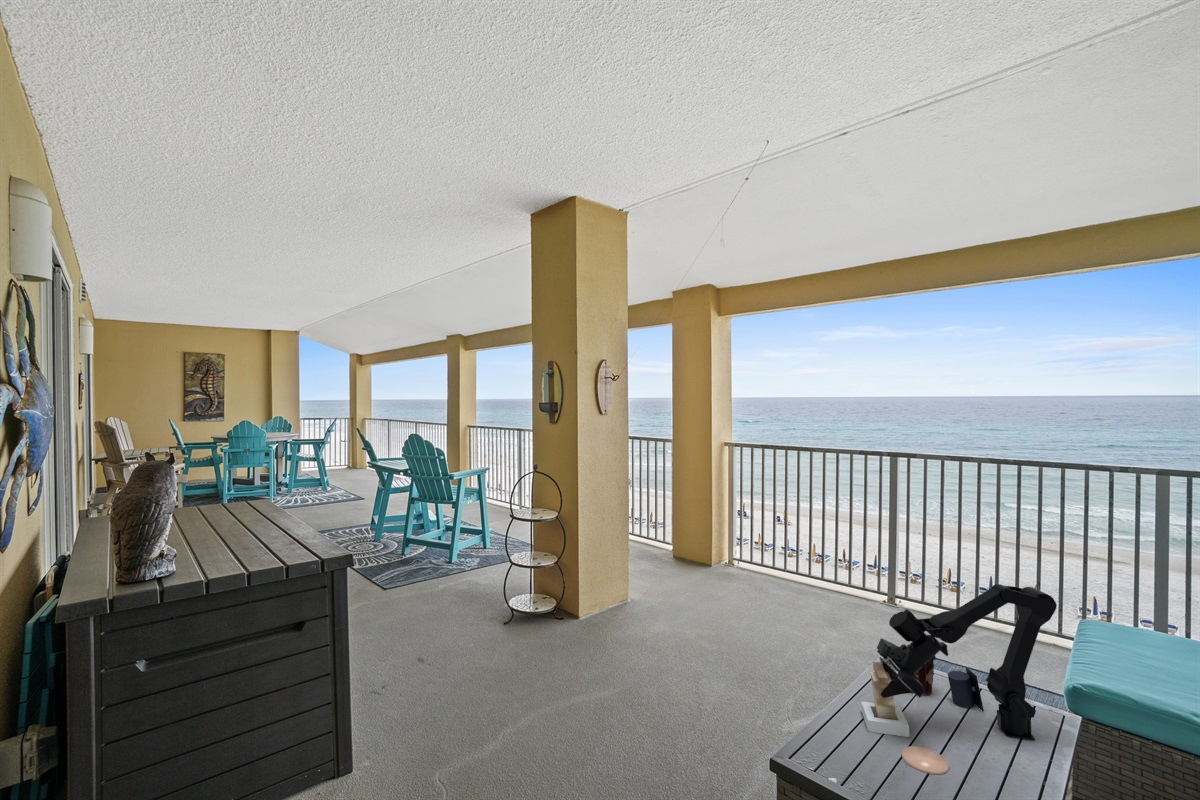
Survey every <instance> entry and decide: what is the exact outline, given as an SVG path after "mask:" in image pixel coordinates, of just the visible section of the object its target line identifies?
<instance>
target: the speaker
mask: <svg viewBox="0 0 1200 800" xmlns="http://www.w3.org/2000/svg"><path fill="white" fill-rule="evenodd" d="M965 671H966V672H964V671H961V670H951V671H949V672H948V673H946V674H947V678H948V683H949V689H950V693H951V698H952V702H953V704H954V705H955V706H958V707H960V706H961V707H960V708H973V707H974V706H976V708H978V709H979V708H980V709H979V711H981V710H982V711H984V706H983V701H982V696H981V695H982V694H981V691H980V686H979V680H978V676H977V675H976V674H975V672H973V671H972V670H971V669H969V668H968V667H965ZM982 711H981V712H982ZM984 712H985V711H984Z"/></svg>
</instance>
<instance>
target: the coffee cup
mask: <svg viewBox="0 0 1200 800" xmlns="http://www.w3.org/2000/svg"><path fill="white" fill-rule="evenodd" d="M908 645H909V644H907V645H906V646H908ZM934 660H936V655H935V656H934V657H933V658H931V659H930V660H929V661H928V662H927V663H926V665H927V666H928V667H927V668H926V669H924V668H923V667H922V668H921V669H920V670H919V671H918V672H917V673H915V675H916V677H917V678H916V679H917V680H918V681H919V682H920V684H921V685H922V686H923V687H924V688H925V693H924V694H923V695H922V696H930V695H931V694H933V693H932V692H933V683H934V671H935V664H934ZM912 692H913V691H912ZM913 693H914V692H913Z"/></svg>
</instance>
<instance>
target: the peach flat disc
mask: <svg viewBox="0 0 1200 800" xmlns="http://www.w3.org/2000/svg"><path fill="white" fill-rule="evenodd" d="M901 758H902V760H903V761H904V762H905V763H906V764H907V765H909V766H910V767H912V768H913V769H915V770H917V771H919V772H922V773H925V774H930V775H943V774H946V773H947V772H949V770H950V763H949V761H948V760H947V759H946V758H945V757H944V756H943V755H941V754H940V753H939V752H937V751H935V750H932V749H930V748H928V747H923V746H917V745H914V746H906V747H905V748H903V749H902V751H901Z"/></svg>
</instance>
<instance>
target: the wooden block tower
mask: <svg viewBox="0 0 1200 800" xmlns="http://www.w3.org/2000/svg"><path fill="white" fill-rule="evenodd" d="M872 667H873V671H870V678H871V686H872V687H871V688H872V694H873V703H874V704H875V711H876V717H877V718H883V719H890V720H897V718H896V710H895V706H896V704H895V698H894V697H895V696H891V697H886V698H883V697H882V696H881V693H882V691H883V690H884V689H885V688H886V687H887V685H889V683H890V682H891V681H892V680H891V678H890V676H889V674H888V672H885V670H884V668H883V665H882V663H881V662H880V661H872ZM876 717H875V718H876Z"/></svg>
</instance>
